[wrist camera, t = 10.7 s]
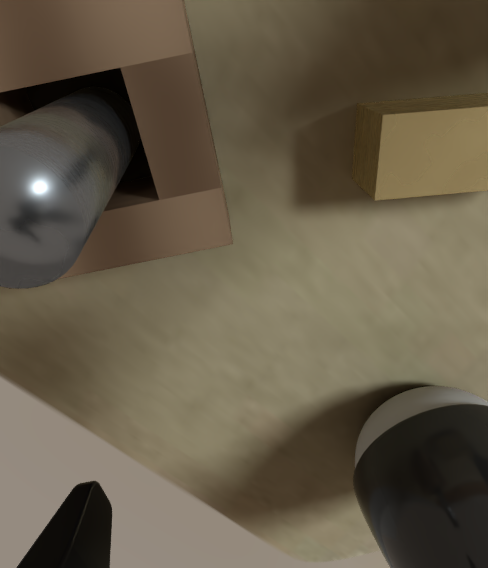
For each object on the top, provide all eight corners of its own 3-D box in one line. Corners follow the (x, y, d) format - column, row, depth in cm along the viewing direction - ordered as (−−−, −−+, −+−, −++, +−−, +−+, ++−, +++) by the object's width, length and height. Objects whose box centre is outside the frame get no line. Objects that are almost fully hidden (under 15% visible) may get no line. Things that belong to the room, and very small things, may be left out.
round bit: (126, 79, 17) (46, 127, 8) (150, 160, 18) (105, 272, 10) (46, 95, 17) (-118, 162, 8) (77, 175, 18) (-32, 300, 10)
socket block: (178, -25, 15) (173, -39, 12) (228, 211, 20) (233, 243, 17) (-68, 28, 15) (-133, 26, 12) (38, 249, 20) (9, 288, 17)
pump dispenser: (450, 328, 24) (735, 666, 11) (511, 421, 29) (764, 737, 16) (304, 415, 27) (400, 772, 14) (381, 487, 32) (508, 807, 19)
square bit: (538, 88, 18) (597, 97, 16) (519, 162, 20) (569, 182, 17) (355, 102, 18) (382, 114, 15) (350, 177, 20) (374, 200, 17)
